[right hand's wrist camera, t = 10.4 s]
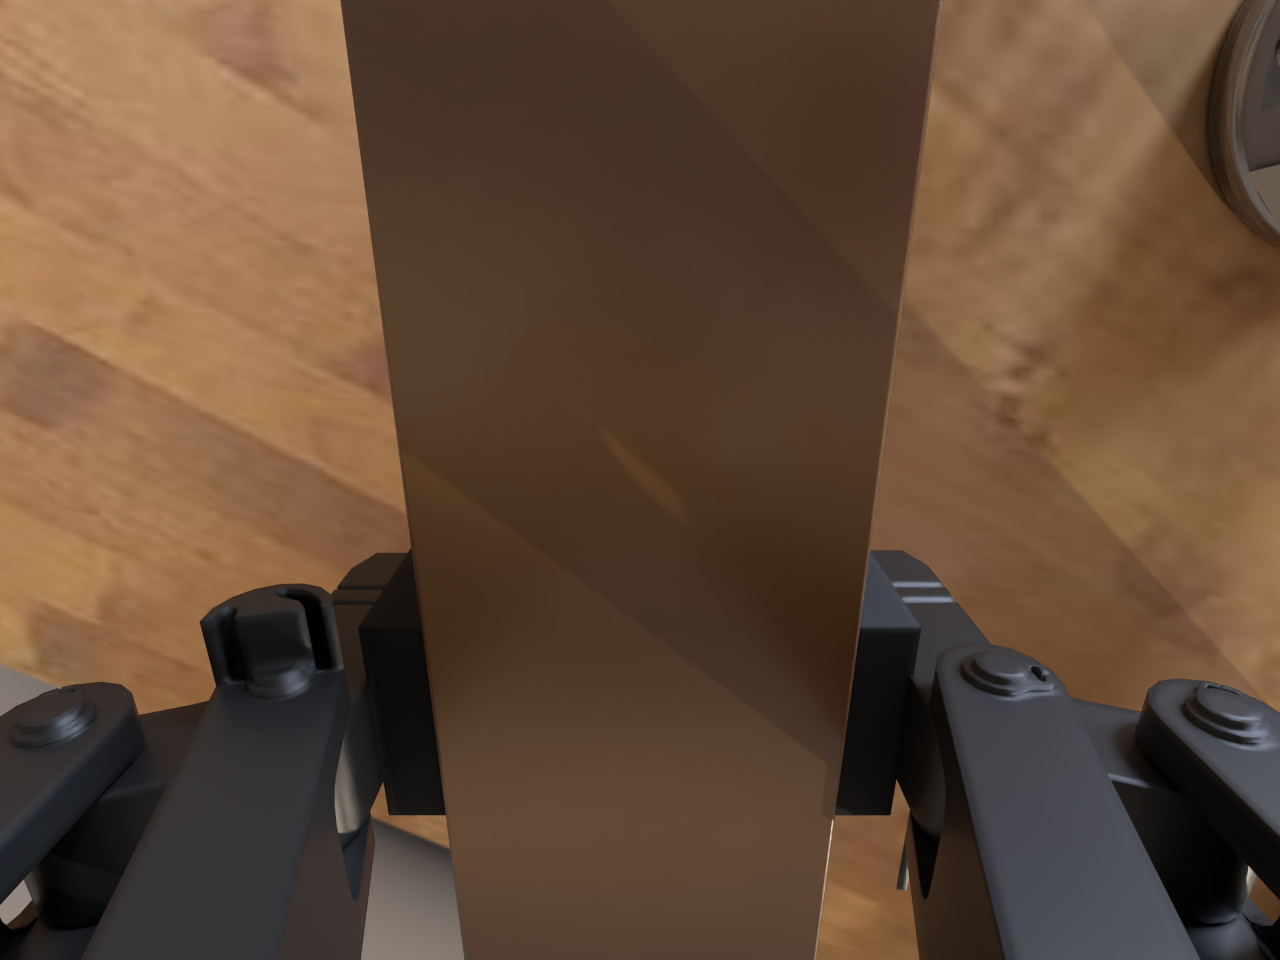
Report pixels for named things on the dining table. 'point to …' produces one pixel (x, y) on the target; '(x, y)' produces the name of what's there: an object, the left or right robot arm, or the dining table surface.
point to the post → (641, 437)
